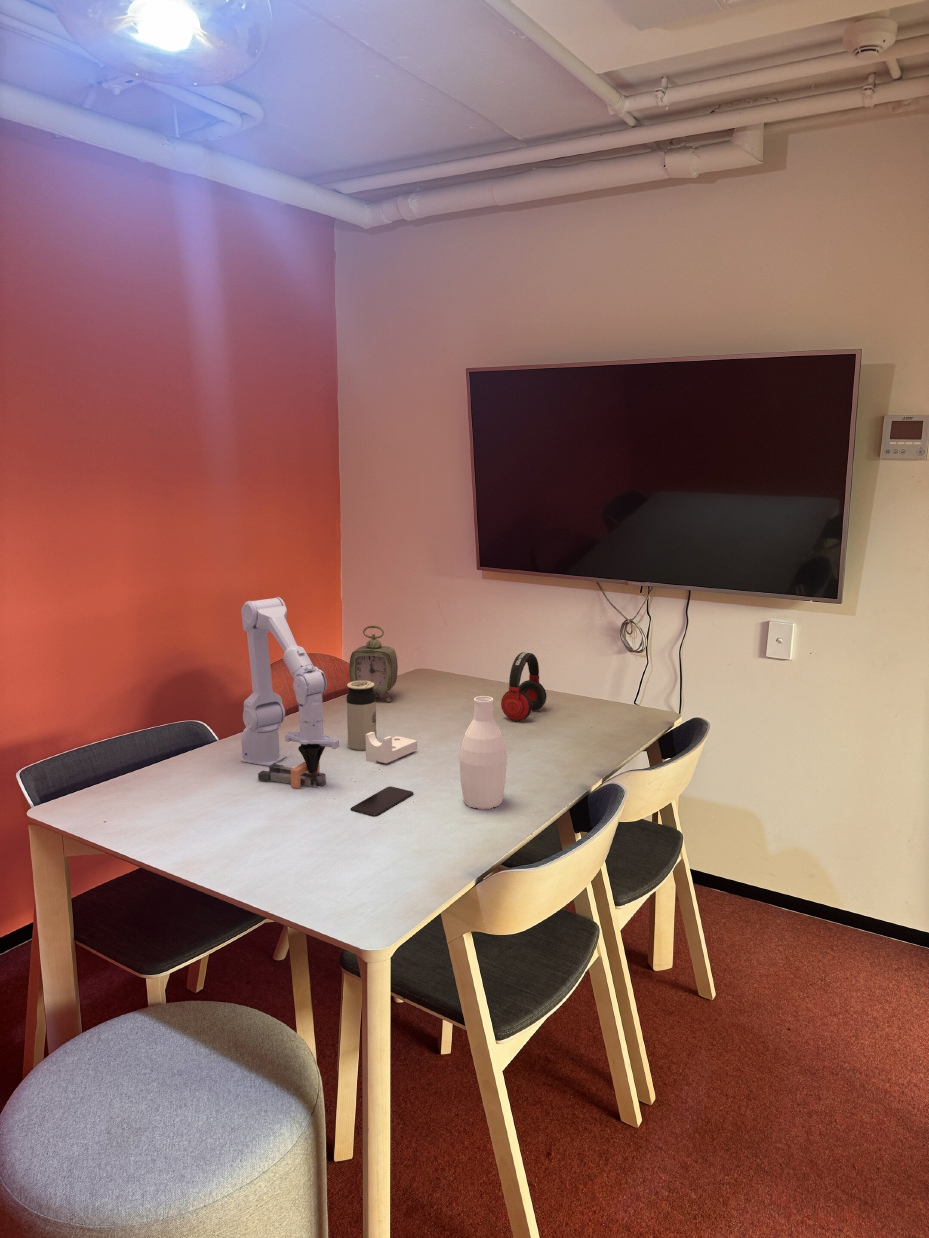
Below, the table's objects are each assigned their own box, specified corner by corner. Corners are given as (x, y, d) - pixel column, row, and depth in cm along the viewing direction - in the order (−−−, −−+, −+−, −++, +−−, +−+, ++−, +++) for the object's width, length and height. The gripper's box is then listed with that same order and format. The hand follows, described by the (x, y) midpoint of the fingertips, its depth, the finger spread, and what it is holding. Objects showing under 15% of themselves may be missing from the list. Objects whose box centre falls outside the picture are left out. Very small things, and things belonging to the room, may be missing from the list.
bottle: (452, 797, 208) (451, 694, 203) (494, 790, 212) (495, 689, 207) (470, 815, 198) (471, 707, 193) (514, 807, 202) (516, 702, 197)
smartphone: (375, 819, 197) (415, 795, 210) (375, 815, 196) (415, 791, 210) (348, 811, 201) (389, 788, 214) (348, 808, 200) (388, 785, 214)
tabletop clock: (350, 702, 286) (348, 627, 281) (357, 694, 294) (356, 622, 290) (392, 704, 283) (391, 629, 278) (399, 696, 292) (398, 623, 287)
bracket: (386, 766, 228) (385, 739, 227) (366, 761, 233) (365, 734, 231) (417, 753, 239) (417, 726, 237) (397, 748, 243) (397, 722, 241)
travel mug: (342, 748, 241) (341, 686, 238) (356, 739, 249) (355, 679, 245) (368, 752, 239) (366, 689, 235) (381, 743, 246) (380, 681, 242)
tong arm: (314, 783, 215) (313, 777, 215) (309, 787, 213) (309, 780, 213) (263, 776, 220) (262, 770, 220) (258, 779, 218) (258, 773, 217)
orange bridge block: (319, 774, 221) (319, 758, 220) (298, 788, 212) (297, 770, 212) (313, 773, 222) (312, 757, 221) (291, 786, 213) (290, 769, 212)
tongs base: (331, 781, 218) (331, 771, 217) (322, 787, 214) (322, 777, 213) (274, 771, 224) (274, 761, 224) (264, 776, 221) (264, 767, 220)
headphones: (527, 725, 262) (528, 661, 258) (497, 720, 266) (498, 657, 262) (549, 710, 277) (550, 649, 273) (520, 706, 282) (521, 645, 278)
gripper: (276, 720, 212) (279, 773, 215) (327, 728, 207) (329, 781, 209) (293, 712, 219) (295, 763, 221) (343, 719, 213) (344, 772, 216)
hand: (312, 771), depth 216 cm, fingers closed
